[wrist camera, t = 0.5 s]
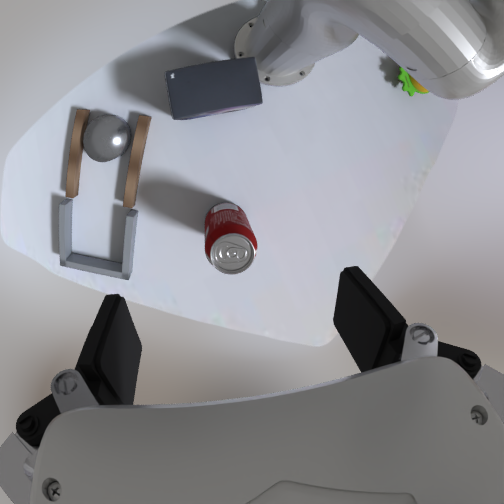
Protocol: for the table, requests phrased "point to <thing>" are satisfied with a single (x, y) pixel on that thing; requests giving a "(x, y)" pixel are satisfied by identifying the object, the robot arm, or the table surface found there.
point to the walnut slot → (134, 163)
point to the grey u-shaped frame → (92, 263)
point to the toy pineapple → (410, 83)
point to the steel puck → (106, 138)
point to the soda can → (229, 239)
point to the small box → (213, 88)
